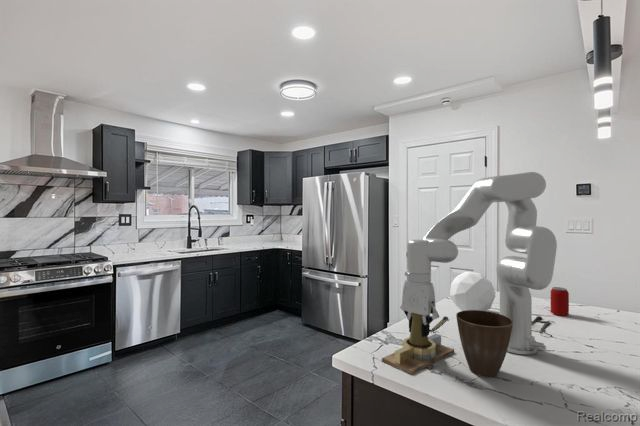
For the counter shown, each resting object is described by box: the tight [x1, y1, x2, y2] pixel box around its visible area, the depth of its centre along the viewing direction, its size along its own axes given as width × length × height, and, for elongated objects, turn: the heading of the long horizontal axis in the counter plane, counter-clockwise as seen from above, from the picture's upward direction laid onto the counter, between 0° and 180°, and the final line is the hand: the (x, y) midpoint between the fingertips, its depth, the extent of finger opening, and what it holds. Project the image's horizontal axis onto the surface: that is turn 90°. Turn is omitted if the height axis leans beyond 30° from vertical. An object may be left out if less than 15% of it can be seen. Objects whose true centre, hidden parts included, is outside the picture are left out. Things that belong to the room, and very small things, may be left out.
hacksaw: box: [532, 315, 555, 338], centre depth 134 cm, size 24×10×2 cm, turn 133°
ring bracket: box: [394, 333, 442, 365], centre depth 107 cm, size 23×10×4 cm, turn 129°
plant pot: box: [455, 310, 513, 378], centre depth 97 cm, size 15×15×16 cm
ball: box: [449, 271, 496, 311], centre depth 154 cm, size 19×20×20 cm
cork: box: [409, 313, 429, 345], centre depth 107 cm, size 6×6×11 cm
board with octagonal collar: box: [381, 344, 455, 375], centre depth 107 cm, size 24×11×1 cm, turn 129°
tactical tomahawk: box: [429, 316, 449, 334], centre depth 136 cm, size 21×7×1 cm, turn 140°
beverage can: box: [550, 286, 570, 317], centre depth 151 cm, size 7×7×12 cm
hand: (418, 333), depth 107 cm, fingers closed on cork, 4 cm apart
